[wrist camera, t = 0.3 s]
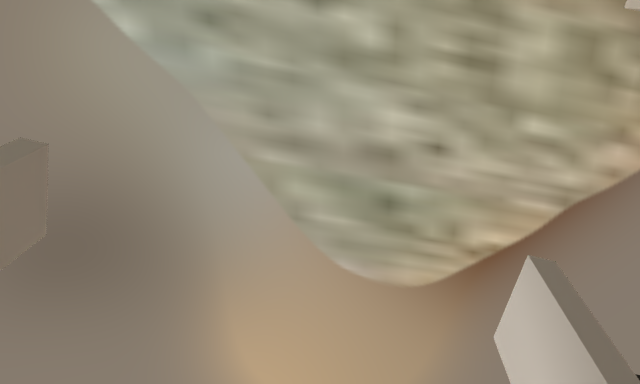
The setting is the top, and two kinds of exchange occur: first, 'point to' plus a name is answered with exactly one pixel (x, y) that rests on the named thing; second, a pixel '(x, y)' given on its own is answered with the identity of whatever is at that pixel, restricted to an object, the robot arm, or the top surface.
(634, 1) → the plug
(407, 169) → the top surface
